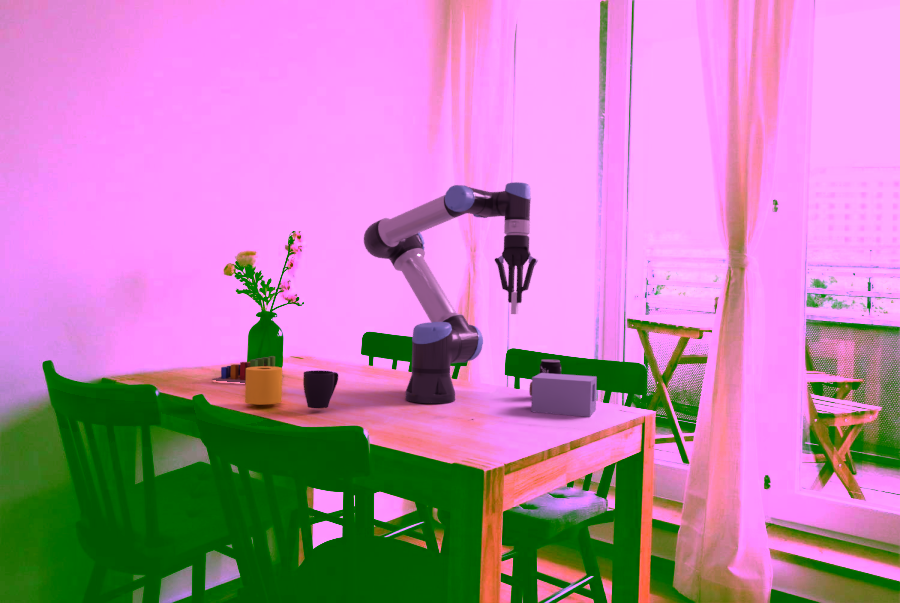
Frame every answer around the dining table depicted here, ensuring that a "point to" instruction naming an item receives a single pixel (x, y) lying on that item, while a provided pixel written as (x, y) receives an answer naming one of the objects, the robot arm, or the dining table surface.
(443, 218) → the robot arm
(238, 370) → the peg board toy
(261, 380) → the toilet paper roll
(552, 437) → the dining table surface
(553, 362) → the beverage can
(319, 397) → the mug
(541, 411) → the block
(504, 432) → the dining table surface
